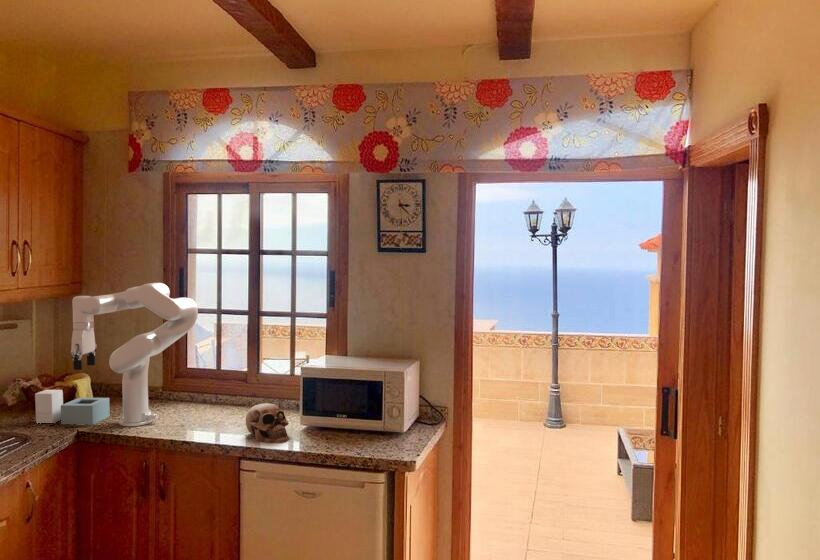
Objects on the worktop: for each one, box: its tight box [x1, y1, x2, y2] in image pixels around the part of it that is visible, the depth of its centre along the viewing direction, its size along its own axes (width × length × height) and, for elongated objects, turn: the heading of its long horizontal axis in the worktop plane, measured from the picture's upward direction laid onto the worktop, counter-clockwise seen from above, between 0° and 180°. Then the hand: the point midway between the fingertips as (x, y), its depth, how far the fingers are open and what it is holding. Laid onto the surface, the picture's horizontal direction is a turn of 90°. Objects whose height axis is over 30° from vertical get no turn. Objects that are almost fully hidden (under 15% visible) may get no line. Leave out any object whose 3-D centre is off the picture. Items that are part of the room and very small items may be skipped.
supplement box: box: [34, 389, 64, 425], centre depth 254 cm, size 7×7×13 cm
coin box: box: [60, 397, 111, 426], centre depth 255 cm, size 13×13×8 cm
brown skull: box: [245, 402, 290, 444], centre depth 234 cm, size 16×17×13 cm
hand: (84, 367), depth 254 cm, fingers open, 9 cm apart
